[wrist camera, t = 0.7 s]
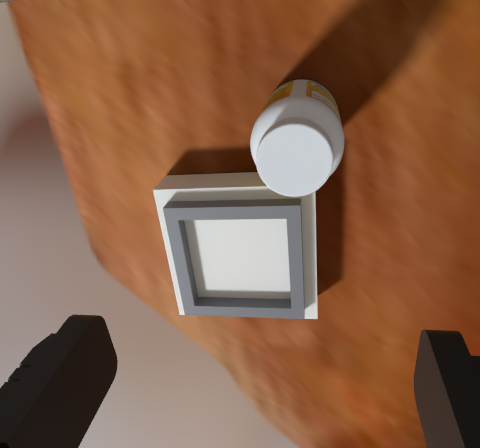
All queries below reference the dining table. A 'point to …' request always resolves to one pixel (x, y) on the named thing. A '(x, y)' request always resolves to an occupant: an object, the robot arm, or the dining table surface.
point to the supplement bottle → (297, 138)
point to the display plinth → (238, 246)
